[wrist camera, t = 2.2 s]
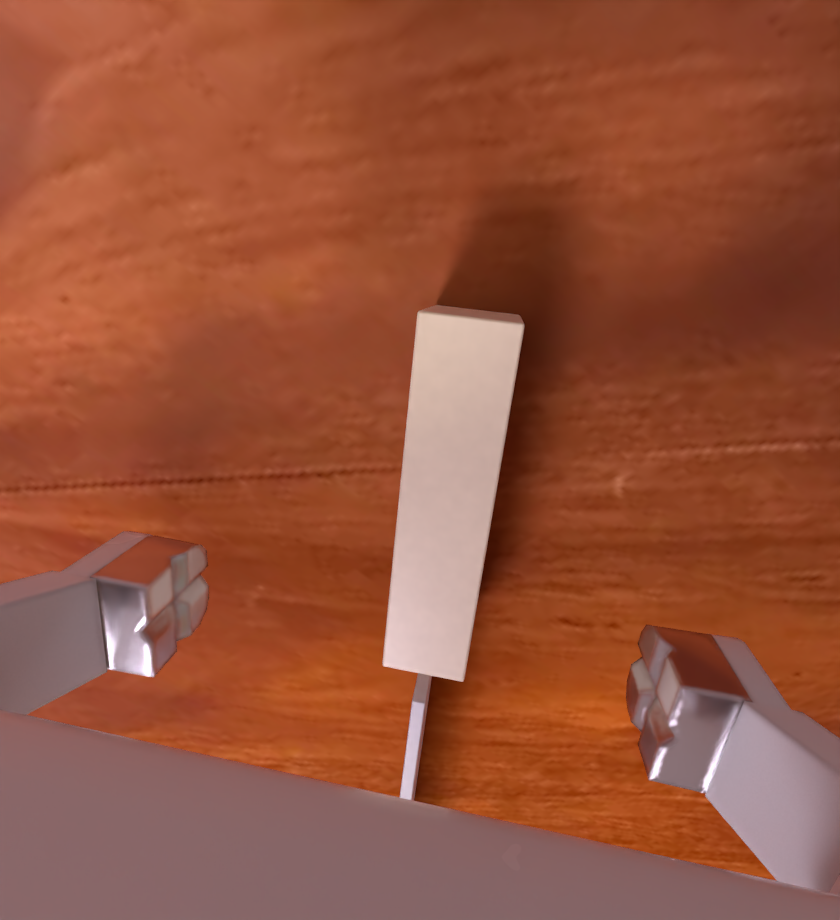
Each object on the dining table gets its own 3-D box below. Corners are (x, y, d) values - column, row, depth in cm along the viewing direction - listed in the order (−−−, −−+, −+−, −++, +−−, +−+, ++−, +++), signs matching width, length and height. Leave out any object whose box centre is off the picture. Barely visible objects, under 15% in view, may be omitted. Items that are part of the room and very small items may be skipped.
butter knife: (434, 304, 14) (417, 310, 11) (520, 314, 14) (525, 323, 11) (373, 858, 22) (354, 941, 19) (427, 871, 22) (416, 958, 19)
